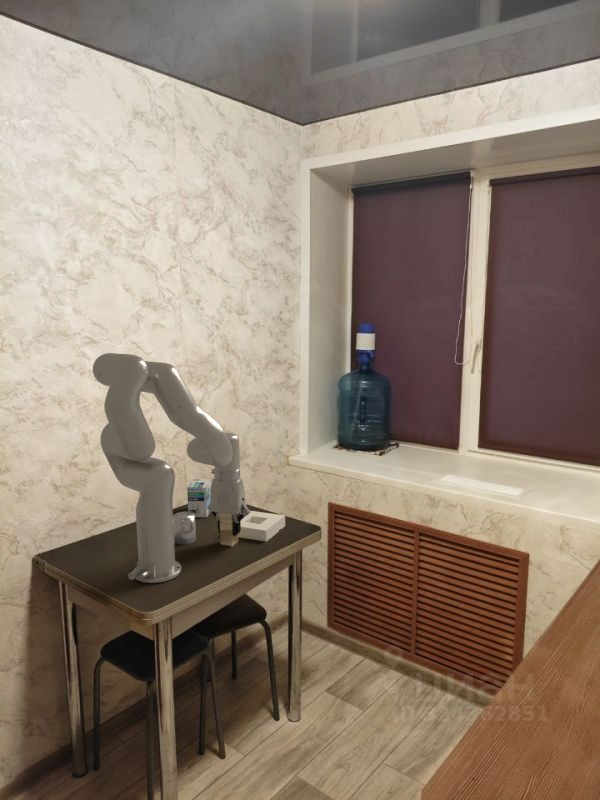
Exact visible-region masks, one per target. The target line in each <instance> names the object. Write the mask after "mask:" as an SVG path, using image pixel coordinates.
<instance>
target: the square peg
mask: <svg viewBox="0 0 600 800" xmlns="http://www.w3.org/2000/svg"><path fill="white" fill-rule="evenodd" d="M219 514H220V533H219V535H220V536H219V537H220V540H219V541H220V542H219V543H220V545H222V546H228V547H234V546H235V545H236V544H237V543H239V538H240V537H238V534H237V535H236V536H234V535H233V523H234V518H233V514H225V513H219Z"/></svg>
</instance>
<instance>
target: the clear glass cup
mask: <svg viewBox="0 0 600 800" xmlns="http://www.w3.org/2000/svg"><path fill="white" fill-rule="evenodd" d="M173 525H174V544H177V545H190V544H192V543H194V542H196V540H197V536H196V535H197V533H196V532H197V531H196V530H197V529H196V517H195V514H194V513H193V512H188V511H179V512H176V513H173Z"/></svg>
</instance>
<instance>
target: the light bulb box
mask: <svg viewBox="0 0 600 800" xmlns="http://www.w3.org/2000/svg"><path fill="white" fill-rule="evenodd" d="M211 484H212V478H193V479H192V480H191V482H189V484H188V485H187V487H186V492H187V493H186V494H187V512H193V513H194V514H195V518H208V516H209V515H210V513H211V511H209V510H208V508H207V507H208V506H209V504H210V492H211Z"/></svg>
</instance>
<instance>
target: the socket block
mask: <svg viewBox="0 0 600 800" xmlns="http://www.w3.org/2000/svg"><path fill="white" fill-rule="evenodd" d="M285 526H286V515H283V514H277V513H269V512H261V511H255V510H250V514H248V515H247V516H245V517H244V518H243V519H242V520H241V531H240V533H239V534H238V538H241V539H247V540H255V541H259V542H268V541H269V540H270V539H272V538H273V536H275V535H277V534H278V533H279V532H280V531H281V530H282V529H284V528H285ZM280 529H281V530H280ZM279 530H280V531H279Z"/></svg>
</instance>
